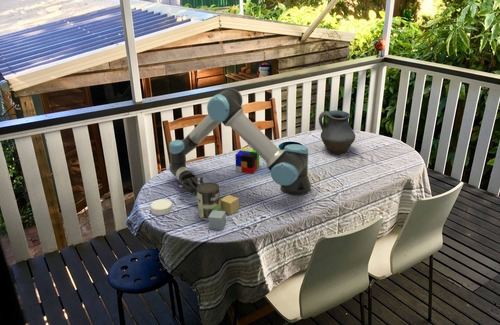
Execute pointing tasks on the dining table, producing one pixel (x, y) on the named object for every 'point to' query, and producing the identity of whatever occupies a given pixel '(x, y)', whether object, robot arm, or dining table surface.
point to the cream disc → (161, 207)
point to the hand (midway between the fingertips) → (204, 196)
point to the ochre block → (229, 204)
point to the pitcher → (336, 131)
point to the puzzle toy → (247, 161)
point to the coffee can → (208, 199)
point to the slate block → (217, 220)
